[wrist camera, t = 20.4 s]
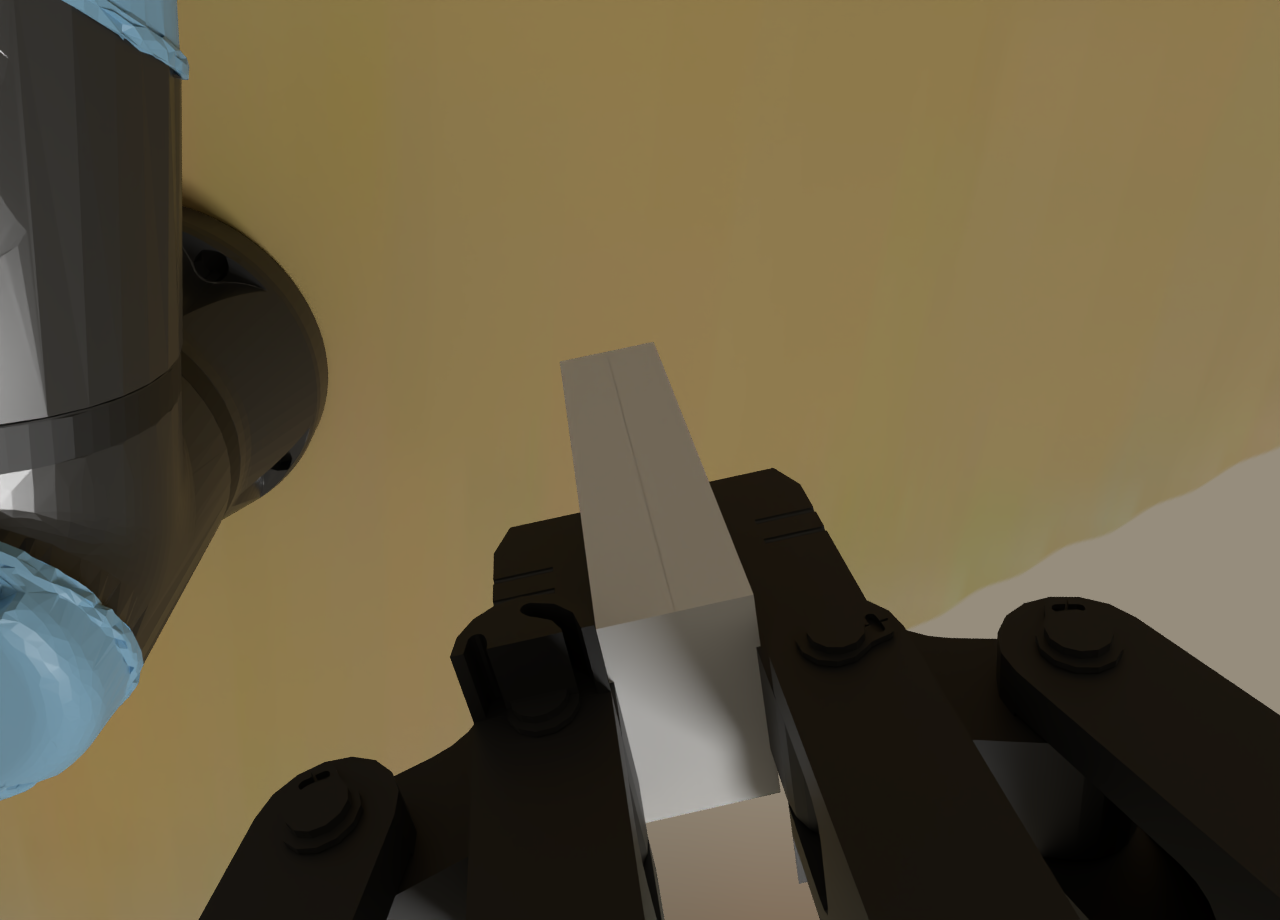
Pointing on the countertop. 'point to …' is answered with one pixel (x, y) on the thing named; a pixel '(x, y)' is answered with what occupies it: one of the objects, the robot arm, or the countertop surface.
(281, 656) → the countertop surface
